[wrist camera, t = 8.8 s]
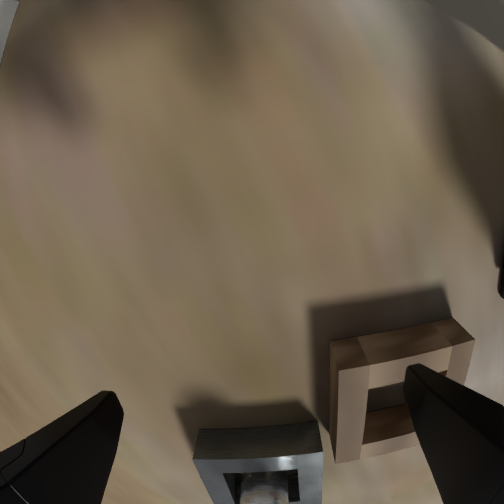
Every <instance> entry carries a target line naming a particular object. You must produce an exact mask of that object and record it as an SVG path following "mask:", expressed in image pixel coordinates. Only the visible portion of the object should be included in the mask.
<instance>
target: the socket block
mask: <svg viewBox="0 0 504 504" xmlns="http://www.w3.org/2000/svg"><path fill="white" fill-rule="evenodd" d="M474 342H475V339H474V338H473V337H472V336H471V335H470V334H469V333H468V332H467V331H466V330H465V329H464V328H463V327H462V326H461V325H460V324H459V323H458V322H457V321H456V320H455V319H454V318H453V317H452V318H448V319H443V320H439V321H435V322H430V323H426V324H421V325H417V326H412V327H407V328H402V329H397V330H392V331H387V332H381V333H376V334H370V335H365V336H359V337H353V338H347V339H340V340H334V341H329V358H330V430H329V435H330V439H331V444H332V450H333V455H334V460H335V464H337V463H343V462H349V461H354V460H359V459H364V458H368V457H373V456H377V455H382V454H386V453H390V452H394V451H398V450H401V449H405V448H409V447H412V446H416V445H419V444H420V443H419V440H418V438H417V435H416V433H415V429H414V426H413V423H412V419H411V416H410V412H409V409H408V406H407V404H403V405H399V406H395V407H391V408H386V409H382V410H377V411H373V412H368V413H366V408H367V398H368V389H371V388H376V387H381V386H386V385H390V384H395V383H399V382H403V381H404V379H405V372H406V368H407V367H408V366H409V365H413V364H417V363H420V364H423V365H425V366H426V367H428V368H430V369H432V370H434V371H436V372H438V373H440V374H442V375H444V376H446V377H448V378H450V379H452V380H454V381H456V382H458V383H460V384H462V385H464V383H465V379H466V375H467V372H468V368H469V364H470V360H471V356H472V351H473V347H474Z"/></svg>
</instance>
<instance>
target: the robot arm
mask: <svg viewBox="0 0 504 504" xmlns="http://www.w3.org/2000/svg"><path fill="white" fill-rule="evenodd" d="M500 297H502V298H503V299H504V264H503V273H502V281H501V288H500ZM403 392H404V396H405V399H406V402H407V406H408V409H409V412H410V416H411V419H412V423H413V426H414V429H415V433H416V435H417V438H418V440H419V443H420V445H421V447H422V450H423V452H424V455H425V457H426V460H427V462H428V464H429V467H430V469H431V472H432V475H433V477H434V480H435V482H436V485H437V487H438V490H439V493H440V495H441V498H442V501H443V503H444V504H504V407H503V405H501V404H499V403H497V402H495V401H493V400H491V399H489V398H487V397H485V396H483V395H481V394H479V393H477V392H475V391H473V390H471V389H469V388H467V387H465V386H464V385H462V384H460V383H458V382H456V381H454V380H452V379H450V378H448V377H446V376H444V375H442V374H440V373H438V372H436V371H434V370H432V369H430V368H428V367H426V366H425V365H423V364H420V363H417V364H413V365H409V366H408V367H407V368H406V372H405V379H404V385H403ZM123 417H124V412H123V408H122V406H121V404H120V402H119V400H118V398H117V396H116V394H115V393H114V392H113V391H101V392H99V393H98V394H96V395H94V396H93V397H91V398H90V399H88V400H87V401H85V402H83V403H82V404H80V405H79V406H77V407H75V408H74V409H72V410H71V411H69V412H67V413H66V414H64V415H63V416H61V417H59V418H58V419H56V420H54V421H53V422H51V423H50V424H48V425H46V426H45V427H43V428H41V429H40V430H38V431H36V432H35V433H33V434H31V435H30V436H28V437H26V439H23V440H21V441H20V442H18V443H16V444H15V445H13V446H11V447H9V448H7V449H5V450H3V451H1V452H0V504H101V502H102V498H103V495H104V491H105V488H106V485H107V481H108V478H109V475H110V472H111V468H112V465H113V462H114V459H115V455H116V451H117V447H118V442H119V437H120V432H121V427H122V422H123Z"/></svg>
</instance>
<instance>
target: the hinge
mask: <svg viewBox="0 0 504 504" xmlns="http://www.w3.org/2000/svg"><path fill="white" fill-rule="evenodd" d="M19 2H20V1H16V0H0V65H1V60H2V56H3V53H4V49H5V45H6V41H7V38H8V35H9V31H10V28H11V25H12V22H13V19H14V16H15V13H16V10H17V7H18V4H19Z"/></svg>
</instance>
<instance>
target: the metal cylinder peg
mask: <svg viewBox="0 0 504 504" xmlns="http://www.w3.org/2000/svg"><path fill="white" fill-rule="evenodd" d="M240 504H289V499H288V478H287V470H282V471H269V472H251V473H242V484H241V497H240Z"/></svg>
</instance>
